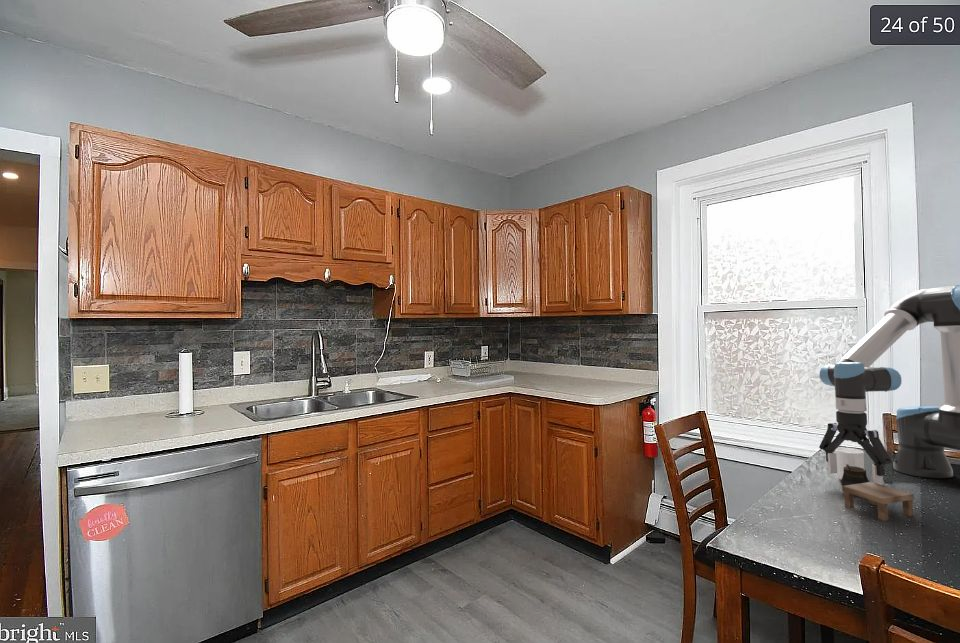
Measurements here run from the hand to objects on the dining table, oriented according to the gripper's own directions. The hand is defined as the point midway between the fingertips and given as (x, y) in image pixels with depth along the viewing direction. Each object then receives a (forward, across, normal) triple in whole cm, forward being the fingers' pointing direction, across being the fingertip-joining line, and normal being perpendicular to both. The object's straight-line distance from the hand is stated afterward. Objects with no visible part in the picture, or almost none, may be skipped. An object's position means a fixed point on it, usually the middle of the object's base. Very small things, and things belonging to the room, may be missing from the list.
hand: (854, 479), depth 142 cm
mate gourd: (+5, 0, 0) cm, 5 cm away
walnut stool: (+5, +12, -8) cm, 15 cm away
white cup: (+5, -11, +12) cm, 17 cm away
